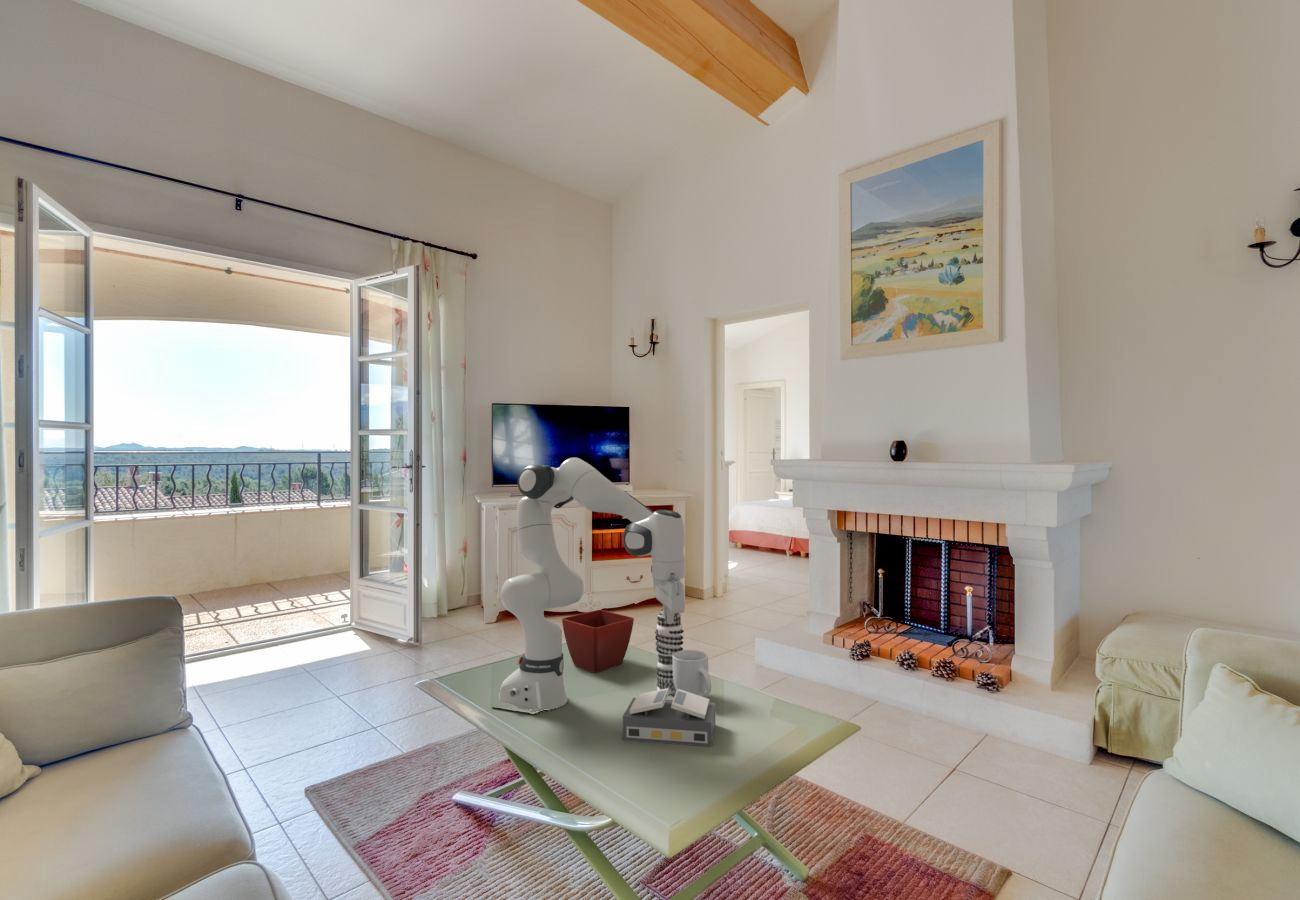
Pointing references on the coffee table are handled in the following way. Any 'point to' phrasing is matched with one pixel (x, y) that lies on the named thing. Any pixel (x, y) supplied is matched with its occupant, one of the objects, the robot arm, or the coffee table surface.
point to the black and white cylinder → (667, 649)
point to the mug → (691, 672)
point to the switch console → (669, 726)
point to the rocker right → (690, 703)
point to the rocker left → (649, 701)
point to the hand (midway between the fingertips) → (669, 622)
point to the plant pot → (597, 639)
